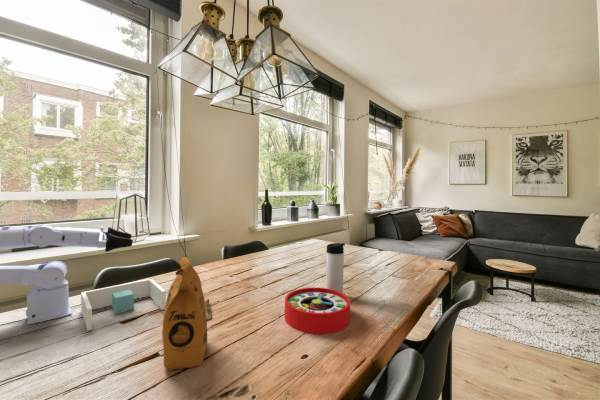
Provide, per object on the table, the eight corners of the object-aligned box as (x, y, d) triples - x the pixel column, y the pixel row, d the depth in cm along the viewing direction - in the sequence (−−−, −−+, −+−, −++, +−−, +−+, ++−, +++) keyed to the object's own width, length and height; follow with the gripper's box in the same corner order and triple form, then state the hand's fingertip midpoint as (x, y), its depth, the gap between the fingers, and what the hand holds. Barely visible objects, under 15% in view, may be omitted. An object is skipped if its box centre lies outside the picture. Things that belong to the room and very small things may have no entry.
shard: (208, 304, 93) (208, 297, 93) (229, 309, 89) (229, 303, 89) (175, 320, 81) (175, 313, 81) (197, 327, 77) (197, 320, 77)
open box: (87, 330, 74) (87, 309, 74) (81, 311, 86) (81, 292, 85) (165, 309, 88) (165, 290, 87) (151, 294, 99) (151, 278, 99)
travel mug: (343, 301, 95) (344, 245, 94) (324, 299, 97) (325, 244, 96) (344, 295, 101) (345, 241, 101) (326, 293, 103) (327, 241, 102)
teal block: (115, 313, 84) (115, 298, 84) (112, 308, 88) (112, 293, 88) (133, 309, 88) (133, 293, 87) (130, 304, 91) (130, 289, 91)
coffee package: (155, 376, 57) (154, 272, 56) (167, 343, 69) (166, 257, 68) (205, 368, 59) (205, 268, 58) (208, 337, 71) (208, 255, 70)
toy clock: (274, 308, 77) (296, 284, 96) (274, 328, 77) (296, 300, 96) (345, 318, 71) (353, 291, 90) (345, 340, 71) (353, 308, 90)
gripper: (82, 230, 80) (135, 233, 88) (85, 220, 92) (132, 224, 100) (78, 253, 80) (131, 254, 88) (82, 241, 92) (129, 243, 100)
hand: (131, 239), depth 94 cm, fingers open, 7 cm apart
